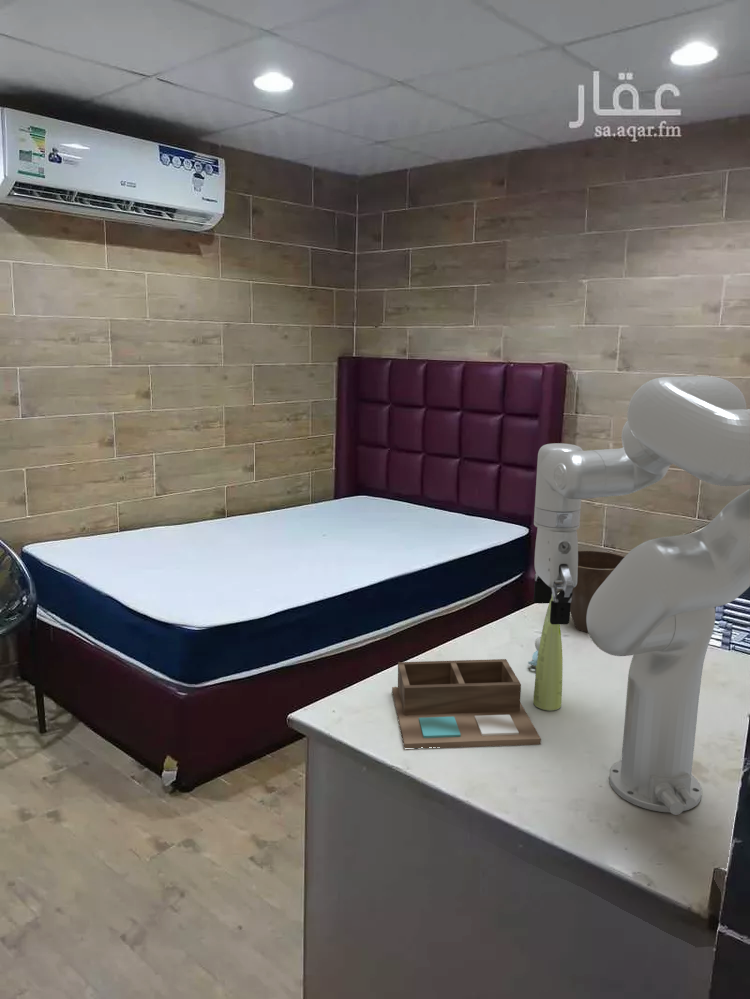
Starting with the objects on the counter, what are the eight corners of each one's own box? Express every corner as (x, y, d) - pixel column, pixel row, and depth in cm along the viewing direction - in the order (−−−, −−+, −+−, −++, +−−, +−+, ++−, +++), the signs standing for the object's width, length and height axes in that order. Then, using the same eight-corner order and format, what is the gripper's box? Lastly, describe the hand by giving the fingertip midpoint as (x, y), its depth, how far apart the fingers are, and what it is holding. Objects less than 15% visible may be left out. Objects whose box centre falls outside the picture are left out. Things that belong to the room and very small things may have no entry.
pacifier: (563, 664, 153) (534, 658, 156) (566, 635, 152) (536, 629, 154) (555, 678, 147) (525, 671, 149) (558, 648, 146) (527, 642, 148)
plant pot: (544, 626, 173) (547, 558, 169) (580, 610, 183) (584, 546, 179) (602, 645, 162) (607, 573, 159) (638, 628, 172) (643, 559, 169)
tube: (570, 708, 135) (576, 603, 131) (549, 715, 132) (555, 608, 128) (546, 695, 139) (552, 593, 135) (526, 702, 137) (531, 599, 132)
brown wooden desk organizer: (540, 744, 123) (542, 710, 121) (404, 749, 121) (404, 714, 120) (509, 688, 142) (511, 658, 141) (392, 692, 140) (392, 661, 139)
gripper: (597, 530, 120) (589, 632, 124) (562, 505, 137) (556, 595, 141) (550, 531, 120) (543, 633, 124) (521, 505, 137) (516, 595, 141)
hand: (550, 612), depth 132 cm, fingers open, 9 cm apart
